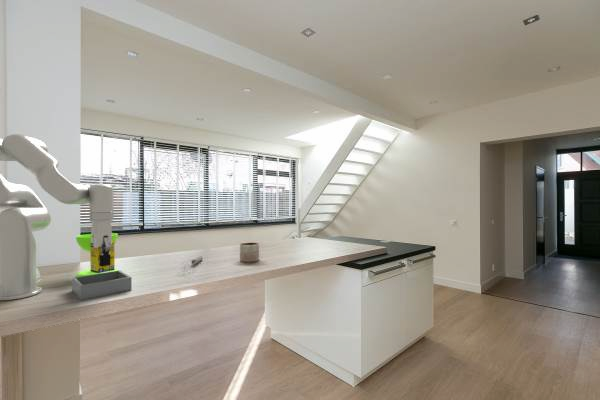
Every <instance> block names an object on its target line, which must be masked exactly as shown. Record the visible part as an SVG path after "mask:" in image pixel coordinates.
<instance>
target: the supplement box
mask: <svg viewBox="0 0 600 400" xmlns="http://www.w3.org/2000/svg"><path fill="white" fill-rule="evenodd" d="M109 244H110V243H109ZM102 247H105V245H102ZM89 253H90V255H89V256H90V258H89V259H90V269H91V272H95V273H102V272H107V271H112V270H115V269H116V267H115V244H114V242H112V245H111V246H110V265H108V266H100V255H101V253H100V247H99V248H95V247H94V244H93V243H90V252H89Z"/></svg>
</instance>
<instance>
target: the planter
mask: <svg viewBox="0 0 600 400" xmlns="http://www.w3.org/2000/svg"><path fill="white" fill-rule="evenodd" d="M239 260H240V262H242V263H256V262H258V261H260V243H259V242H254V241H253V242H249V241H248V242H241V243H239Z"/></svg>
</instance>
